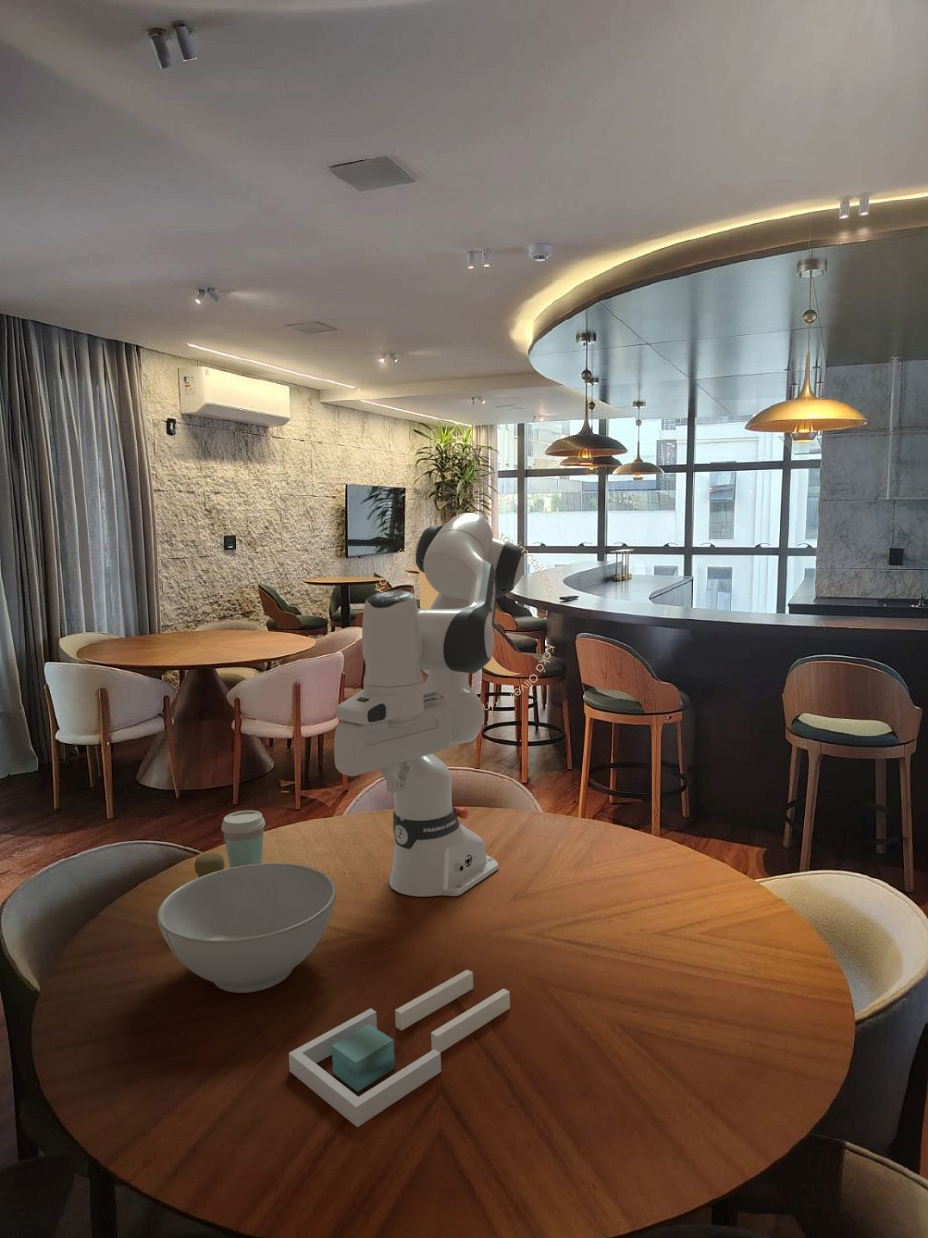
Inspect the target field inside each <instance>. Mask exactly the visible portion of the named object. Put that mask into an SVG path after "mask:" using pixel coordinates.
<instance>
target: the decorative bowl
mask: <svg viewBox="0 0 928 1238" xmlns="http://www.w3.org/2000/svg"><path fill="white" fill-rule="evenodd" d="M336 898H337V887H336V884H335V883H334V880H332V878H331V877H330V876H328V875H327V874H326V873H325V872H323V871H320V870H318V869H316V868H314V867H309V866H306V865H302V864H294V863H285V862H267V863H266V862H265V863H263V862H262V864H251V865H244V866H238V867H233V868H230V867H229V868H224V869H223V870H220V871H217V872H213V873H210V874H207V875H205V876H202V877H199V878H198V877H196V878H195V879H192V880H191V881H188V882H187V883H185V884H183V885H181V886H180V887H178V888H177V889H175V890H174V891H172V892H171V893H170V894H169V895H167V896H166V898H164V900H163V902H161V904H160V906H159V908H158V911H157V923H158V926H159V929H160V931H161V933H162V936H163V938H164V940H165V942H166V944H167V945H168V947H169V949H170V950H171V952H172V953H173V954H174V956H175V957H176V958H177V959H178V960H179V961H180V963H181V964H183V965H184V966H185V967H186V968H187V969H188V970H190V971H191V972H192V973H193V974H195V975H197V976H198V977H200V978H202V979H203V980H205V981H206V980H207V981H208V982H212V983H213V984H214V985H215V986H216V987H217V988H219V989H221V990H223V991H225V992H231V993H239V994H242V993H243V994H245V993H254V992H260V991H264V990H266V989H269V988H271V987H274V986H276V985H278V984H280V983H281V982H282V981H284V980H286V979H287V978H288V977H289V975H290V974H291V973H292V972H293V969H294V968H295V967H297V966H298V965H299V964H301V963H302V962H303V961H304V960H305V959H306V958H307V957H308V956H309V955H310V953H311V952H313V951H314V949H315V947H316V946H317V944H318V943H319V942H320V940H321V939H322V936H323V935H324V933H325V932H326V929H327V927H328V925H329V922H330V919H331V917H332V913H333V910H334V907H335V902H336Z"/></svg>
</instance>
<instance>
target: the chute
mask: <svg viewBox="0 0 928 1238" xmlns="http://www.w3.org/2000/svg"><path fill="white" fill-rule="evenodd" d="M473 989H474V972H473V971H472V970H470V969H465V970H464V971H462V972H459V973H458V974H456V975H455V976H453V977H451V978H449V979H447V980H446V981H444V982H442V983H440V984H439V985H437V986H436V987H435V986H434V987H433V988H432V989H430V990H428V991H426V992H425V993H423V994H421V995H419V996H418V997H416V998H413V999H412V1000H410V1001H408V1002H407V1003H405V1004H403V1005H402V1006H399V1007H398V1008H395V1009H394V1014H395V1015H394V1019H395V1028H396V1029H398V1030H400V1032H401V1031H403V1030H405V1029H407V1028H408V1027H410V1026H412V1025H413V1024H415V1023H417V1022H418V1021H420V1020H422V1019H424V1018H425V1017H427V1016H429V1015H430V1014H433V1013H434V1012H436V1011H437V1010H439V1009H441V1008H443V1007H444V1006H446V1005H447V1004H449V1003H451V1002H453V1001H455V1000H456V999H457V998H459V997H461V996H463V995H464V994H466V993H468V992H470V991H471V990H473ZM509 1009H511V995H510V991H509V990H507V989H506V988H502V989H500V990H499V991H497V992H496V993H494V994H492V995H490V996H489V997H486V998H485V999H484V1000H482V1001H481V1002H479V1003H477V1004H475V1005H474V1006H472V1007H470V1008H469V1009H467V1010H466V1011H464V1012H463V1013H461V1014H459V1015H457V1016H455V1018H454V1017H453V1019H451V1020H449V1021H448V1022H446V1023H444V1024H443V1025H441V1026H439V1027H437V1028H436V1029H435V1030H433V1031H431V1032H430V1039H431V1042H430V1043H431V1051H432V1050H433V1049H435V1050H436V1051H438V1052H439V1053H442V1052H444V1051H445V1050H447V1049H449V1048H450V1047H451V1046H453V1045H455V1044H456V1043H458V1042H460V1041H461V1040H463V1039H465V1038H466V1037H467V1036H469V1035H471V1034H472V1033H474V1032H475V1031H477V1030H479V1029H480V1028H481V1027H483V1026H485V1025H486V1024H488V1023H489V1022H491V1021H492V1020H493V1019H495V1018H496V1017H498V1016H501V1015H502V1014H503V1013H505V1012H506V1011H508V1010H509Z"/></svg>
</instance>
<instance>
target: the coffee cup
mask: <svg viewBox="0 0 928 1238" xmlns="http://www.w3.org/2000/svg"><path fill="white" fill-rule="evenodd" d="M265 825H266V822H265V818H264V816H263V814H262V813H261V812H260V811H257V810H252V809H251V810H239V811H238V810H237V811H234V812H232V813H229V814H227V815H225V816H224V817H223V821H222V823H221V828H220V829H221V831H222V833H223V838H224V843H225V847H226V853H227V858H228V863H229V868H233V867H238V866H244V865H251V864H262V863H263V862H262V861H263V846H264V845H263V844H264V831H265V829H264V827H265Z"/></svg>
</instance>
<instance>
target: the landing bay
mask: <svg viewBox="0 0 928 1238" xmlns="http://www.w3.org/2000/svg"><path fill="white" fill-rule="evenodd" d="M377 1019H378V1018H377V1011H376V1010H374V1009H373V1008H372V1007H371V1008H370V1007H369V1009H367V1010H364V1011H363V1012H361V1013H359V1014H357V1015H356V1016H354V1017H352V1018H350V1019H349V1020H347V1021H345V1022H343V1023H341V1024H340V1025H337V1026H335V1027H334V1028H332V1029H330V1030H329V1031H328V1030H327V1032H325V1033H323V1034H321V1035H319V1036H317V1037H316V1038H313V1039H312V1040H310V1041H308V1042H306V1043H305V1044H303V1045H301V1046H299V1047H297V1048H295V1049H294V1050H292V1051H290V1052H288V1063H289V1066H288V1068H289V1072H290V1073H291V1074H292V1075H294V1076H295V1078H297V1079H298V1080H299V1081H301V1082H302V1083H303V1084H304V1085H306V1086H307V1087H308V1088H309V1089H310V1090H312V1091H313V1092H314V1093H315V1094H316V1095H318V1096H319V1097H320V1098H321V1099H322V1100H324V1101H325V1102H326V1103H327V1104H329V1105H330V1106H331V1107H332V1108H333V1109H335V1110H336V1111H337V1112H338V1113H339V1114H341V1116H343V1118H345V1119H347V1120H348V1121H349V1122H351V1124H353V1125H354V1126H355V1128H359V1127H360V1126H362V1125H363V1124H365V1123H366V1122H368V1121H369V1120H371V1119H373V1118H374V1117H375V1116H377V1115H378V1114H379V1113H382V1112H383V1111H384V1110H385V1109H387V1108H388V1107H390V1106H391V1105H393V1104H395V1103H396V1102H398V1101H399V1100H401V1099H402V1098H403V1097H405V1096H407V1095H408V1094H410V1093H411V1092H413V1091H414V1090H416V1089H418V1088H419V1087H420V1086H422V1085H423V1084H425V1083H426V1082H428V1081H429V1080H431V1079H432V1078H434V1077H435V1076H437V1075H438V1074H441V1072H442V1062H441V1061H442V1058H441V1053H442V1052H441V1053H439V1052H438V1051H436V1050H435V1049H433V1050H432V1049H431V1051H429V1052H427V1053H426V1054H424V1055H422V1056H420V1057H419V1058H418V1059H416V1060H414V1061H413V1062H412V1063H410V1064H408V1065H406V1066H405V1067H404V1068H402V1069H400V1070H399V1071H397V1072H395V1073H394V1074H392V1075H391V1076H389V1077H388V1078H386V1079H384V1080H382V1081H381V1082H380V1083H378V1084H377V1085H375V1086H374V1087H372V1088H370V1089H368V1090H367V1091H366V1092H363V1093H362V1094H360V1095H359V1096H358V1095H357V1094H356V1093H354V1092H352V1091H351V1090H350V1089H349V1088H347V1086H345V1085H344V1084H342V1083H341V1082H340V1081H338V1080H337V1079H336V1078H335V1077H333V1075H331V1074H330V1073H328V1071H326V1070H325V1069H323V1068H322V1067H321V1066H319V1065H318V1063H320V1062H321V1061H323V1060H325V1059H327V1058H329V1057H330V1056H332V1045H333V1044H335V1043H337V1042H338V1041H340V1040H342V1039H344V1038H345V1037H347V1036H349V1035H351V1034H352V1033H354V1032H356V1031H358V1030H359V1029H361V1028H363V1027H365V1026H366V1025H368V1024H370V1025H372V1026H373V1027H375V1028H376V1029H378V1021H377Z"/></svg>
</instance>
